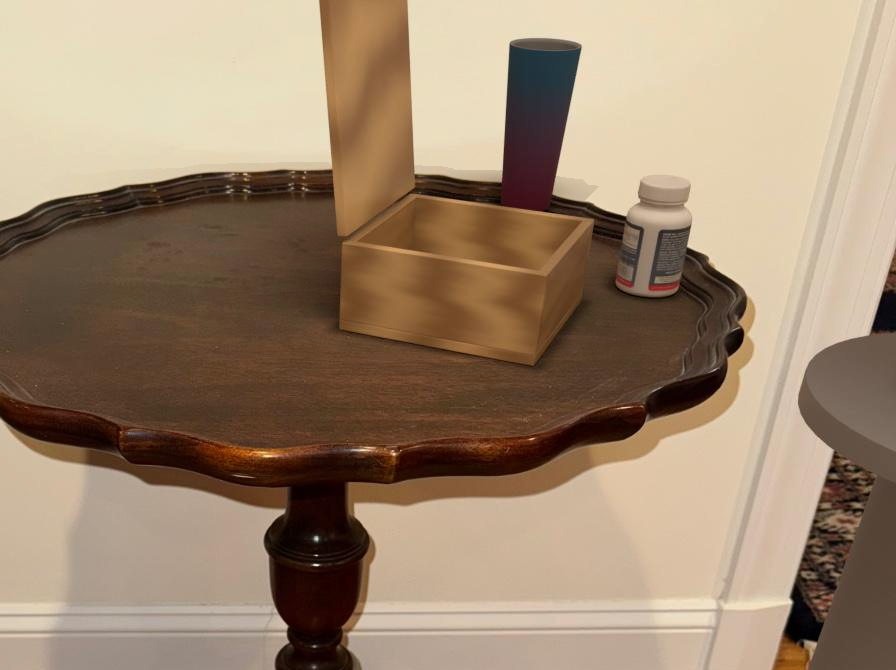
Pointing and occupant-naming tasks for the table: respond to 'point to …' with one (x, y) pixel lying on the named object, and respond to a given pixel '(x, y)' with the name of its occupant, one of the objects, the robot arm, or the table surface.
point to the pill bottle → (655, 238)
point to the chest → (465, 276)
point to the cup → (536, 118)
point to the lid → (368, 106)
